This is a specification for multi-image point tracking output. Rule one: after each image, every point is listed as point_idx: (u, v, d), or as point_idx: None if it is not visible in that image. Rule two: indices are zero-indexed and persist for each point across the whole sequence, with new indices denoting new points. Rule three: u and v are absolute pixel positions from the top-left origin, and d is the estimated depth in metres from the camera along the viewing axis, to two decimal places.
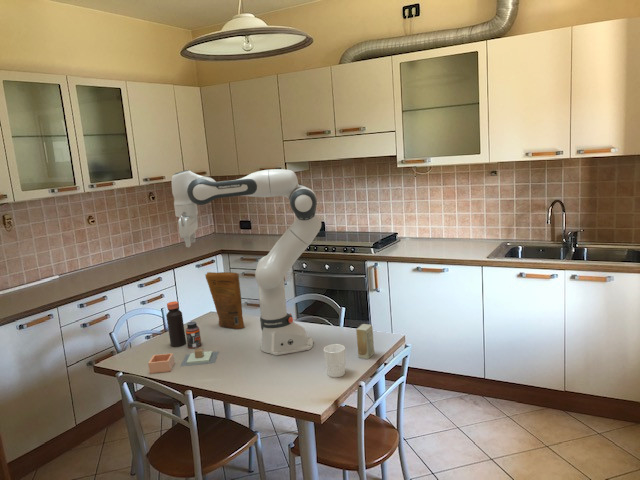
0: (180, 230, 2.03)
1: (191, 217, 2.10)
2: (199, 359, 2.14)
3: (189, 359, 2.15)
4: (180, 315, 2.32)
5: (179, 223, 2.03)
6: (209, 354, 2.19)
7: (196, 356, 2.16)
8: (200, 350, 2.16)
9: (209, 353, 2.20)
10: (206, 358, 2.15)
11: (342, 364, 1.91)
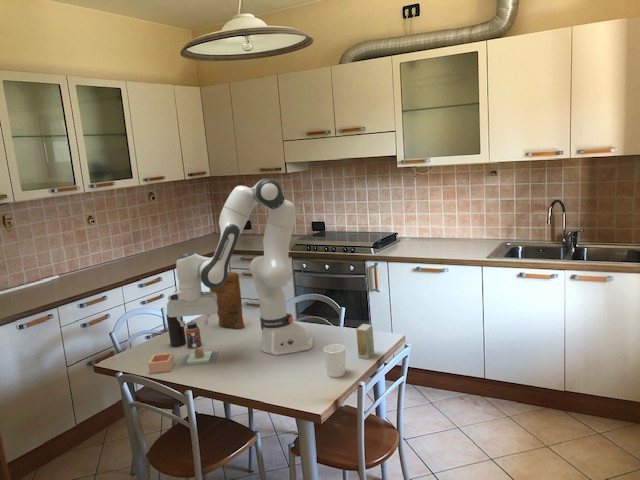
0: (216, 306, 2.12)
1: None
2: (199, 359, 2.14)
3: (189, 359, 2.15)
4: None
5: (214, 300, 2.12)
6: (209, 354, 2.19)
7: (196, 356, 2.16)
8: (200, 350, 2.16)
9: (209, 353, 2.20)
10: (206, 358, 2.15)
11: (342, 364, 1.91)
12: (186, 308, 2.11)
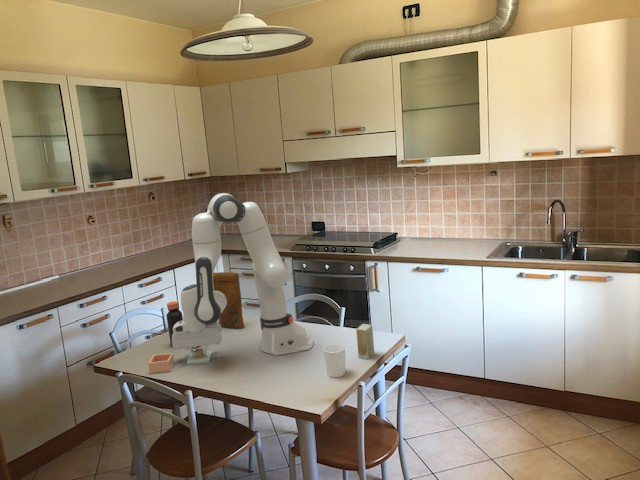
0: (220, 336, 2.15)
1: None
2: (199, 359, 2.14)
3: (189, 359, 2.15)
4: (180, 315, 2.32)
5: (218, 330, 2.14)
6: (209, 354, 2.19)
7: (196, 356, 2.16)
8: (200, 350, 2.16)
9: (209, 353, 2.20)
10: (206, 358, 2.15)
11: (342, 364, 1.91)
12: (191, 338, 2.14)
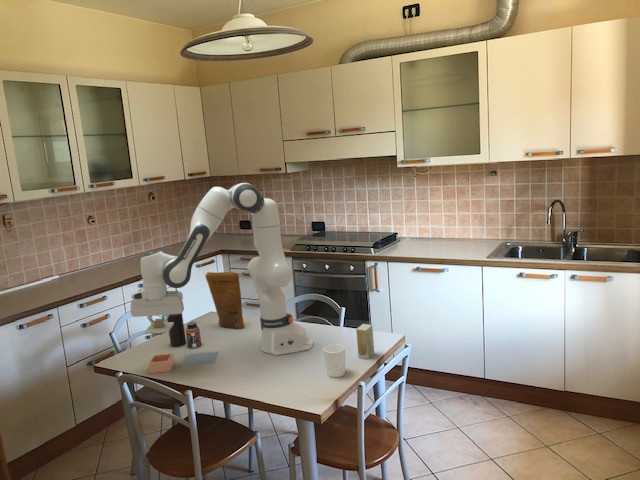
0: (181, 305, 2.06)
1: None
2: (158, 329, 2.06)
3: (148, 329, 2.07)
4: (180, 315, 2.32)
5: (179, 299, 2.06)
6: (170, 325, 2.10)
7: (156, 326, 2.07)
8: (160, 320, 2.08)
9: (170, 324, 2.11)
10: (166, 328, 2.06)
11: (342, 364, 1.91)
12: (151, 307, 2.05)
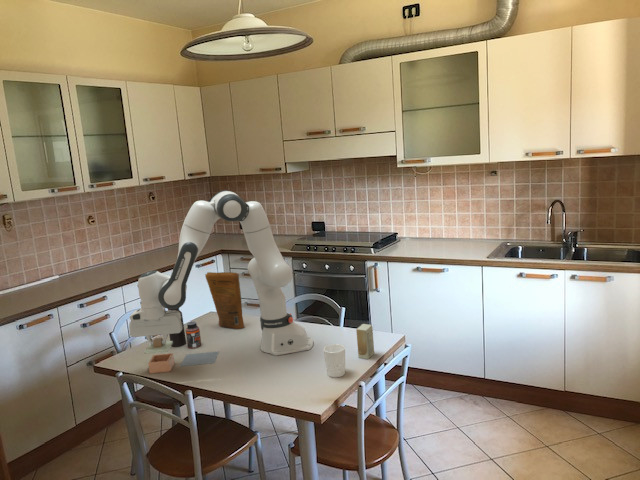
0: (180, 325, 2.07)
1: None
2: (157, 348, 2.06)
3: (147, 348, 2.07)
4: None
5: (178, 319, 2.06)
6: (169, 344, 2.11)
7: (155, 345, 2.08)
8: (159, 339, 2.08)
9: (169, 343, 2.12)
10: (165, 347, 2.07)
11: (342, 364, 1.91)
12: (149, 327, 2.06)
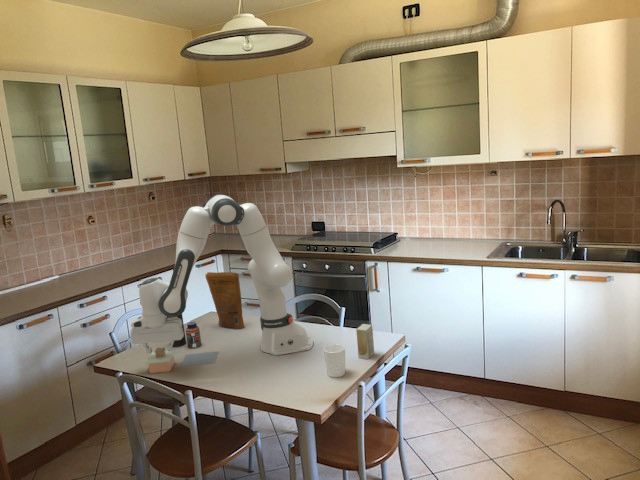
0: (181, 332, 2.08)
1: None
2: (160, 358, 2.07)
3: (149, 358, 2.08)
4: (180, 315, 2.32)
5: (179, 326, 2.07)
6: (171, 353, 2.12)
7: (157, 355, 2.09)
8: (161, 349, 2.09)
9: (171, 352, 2.13)
10: (167, 357, 2.08)
11: (342, 364, 1.91)
12: (151, 334, 2.07)
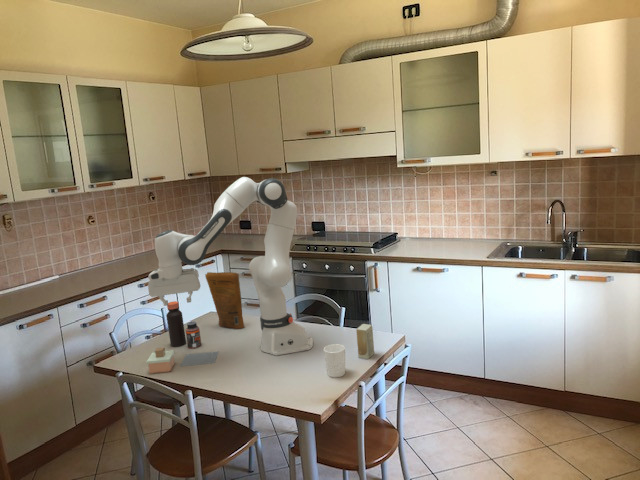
0: (198, 282, 2.10)
1: None
2: (160, 358, 2.07)
3: (149, 358, 2.08)
4: (180, 315, 2.32)
5: (195, 276, 2.10)
6: (171, 353, 2.12)
7: (157, 355, 2.09)
8: (161, 349, 2.09)
9: (171, 352, 2.13)
10: (167, 357, 2.08)
11: (342, 364, 1.91)
12: (168, 286, 2.09)
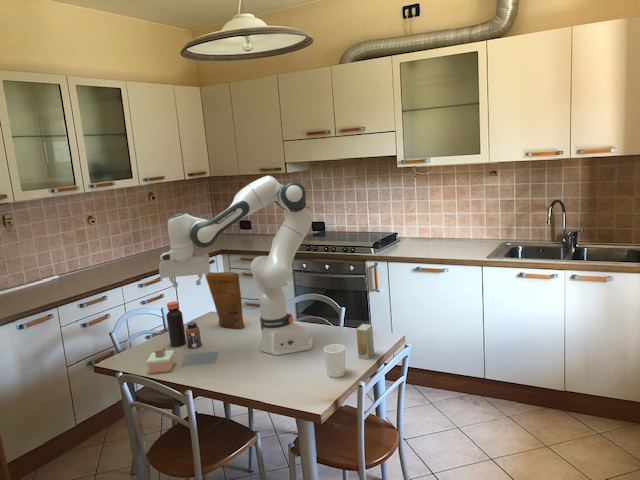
0: (208, 266, 2.13)
1: None
2: (160, 358, 2.07)
3: (149, 358, 2.08)
4: (180, 315, 2.32)
5: (206, 260, 2.13)
6: (171, 353, 2.12)
7: (157, 355, 2.09)
8: (161, 349, 2.09)
9: (171, 352, 2.13)
10: (167, 357, 2.08)
11: (342, 364, 1.91)
12: (179, 268, 2.12)
